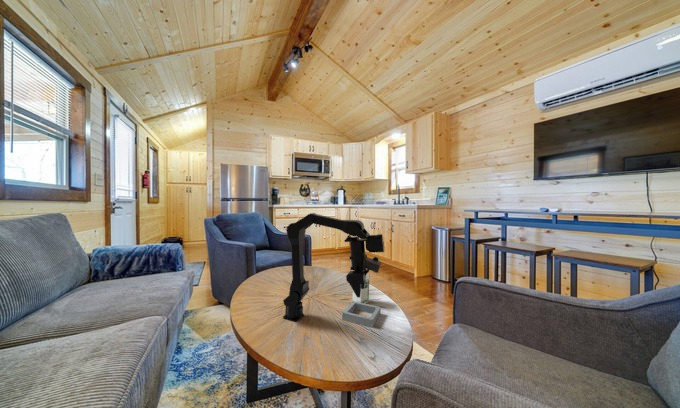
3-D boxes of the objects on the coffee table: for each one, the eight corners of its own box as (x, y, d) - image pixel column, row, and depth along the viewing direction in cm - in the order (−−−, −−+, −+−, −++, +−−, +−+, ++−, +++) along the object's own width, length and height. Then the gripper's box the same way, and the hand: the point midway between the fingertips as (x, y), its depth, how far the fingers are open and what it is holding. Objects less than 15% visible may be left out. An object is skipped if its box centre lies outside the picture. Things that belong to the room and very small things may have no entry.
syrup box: (360, 305, 116) (361, 275, 116) (351, 301, 121) (353, 272, 120) (368, 302, 120) (370, 273, 120) (360, 298, 125) (361, 270, 124)
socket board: (342, 319, 102) (342, 312, 102) (353, 307, 114) (353, 301, 114) (372, 327, 97) (372, 320, 97) (380, 313, 109) (380, 307, 109)
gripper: (375, 257, 84) (379, 303, 84) (380, 247, 102) (383, 285, 102) (344, 258, 87) (347, 302, 87) (354, 248, 105) (357, 284, 105)
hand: (360, 292), depth 95 cm, fingers open, 9 cm apart
